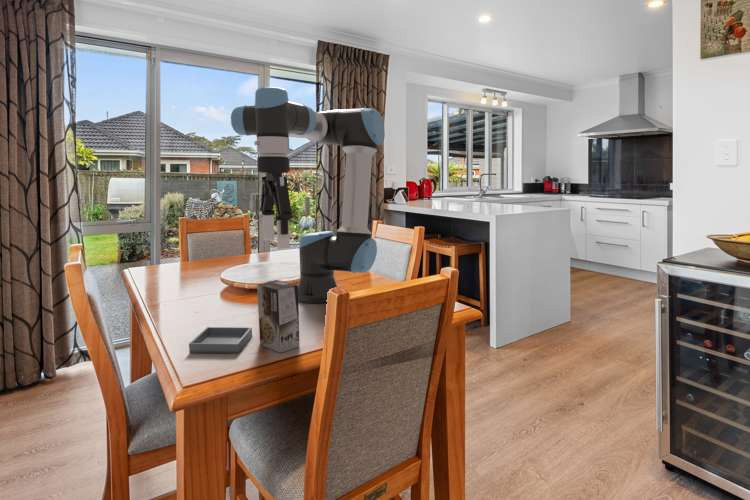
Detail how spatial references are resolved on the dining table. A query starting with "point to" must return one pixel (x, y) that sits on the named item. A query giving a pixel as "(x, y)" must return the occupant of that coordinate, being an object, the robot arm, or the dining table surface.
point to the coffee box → (278, 315)
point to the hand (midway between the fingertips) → (275, 244)
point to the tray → (221, 340)
